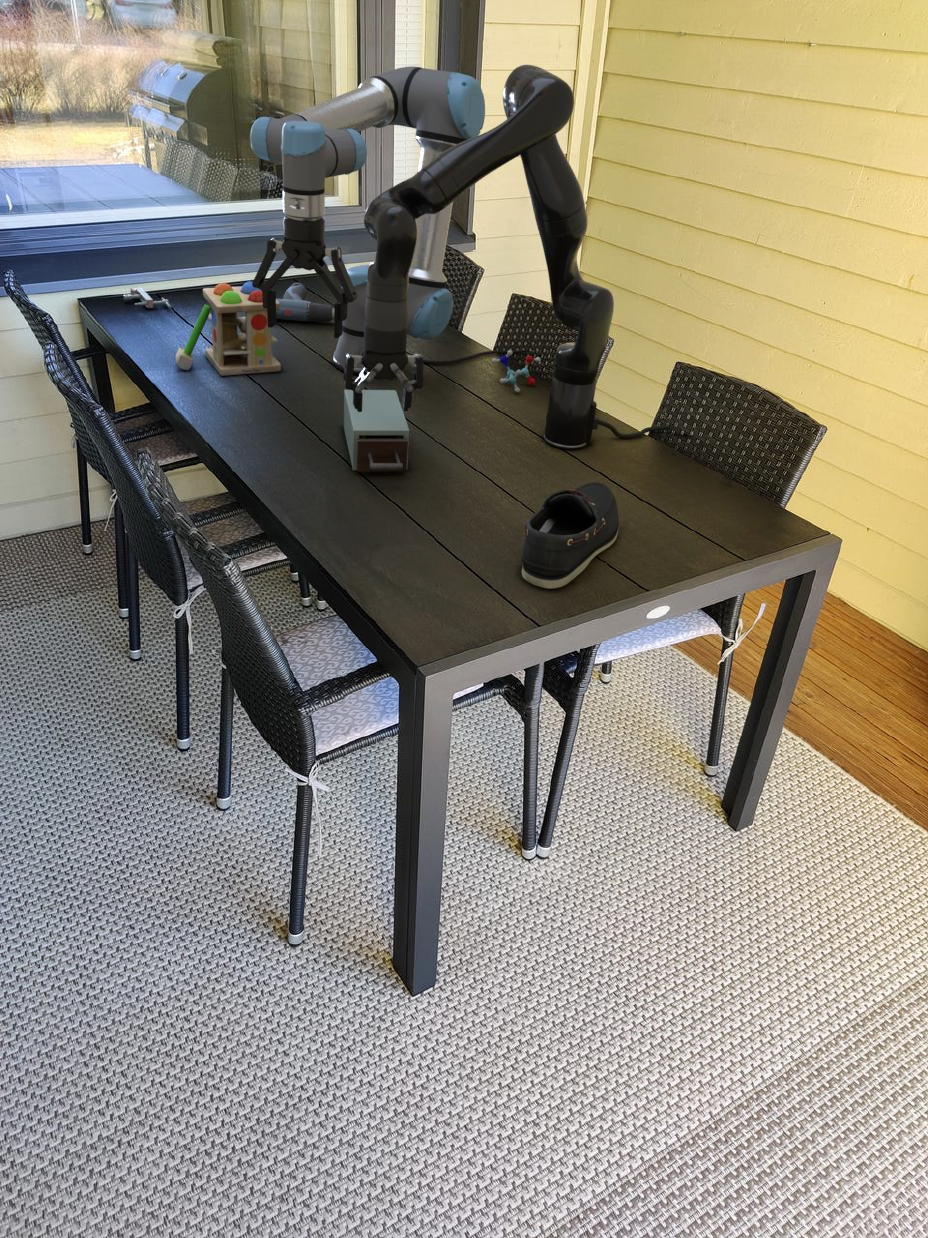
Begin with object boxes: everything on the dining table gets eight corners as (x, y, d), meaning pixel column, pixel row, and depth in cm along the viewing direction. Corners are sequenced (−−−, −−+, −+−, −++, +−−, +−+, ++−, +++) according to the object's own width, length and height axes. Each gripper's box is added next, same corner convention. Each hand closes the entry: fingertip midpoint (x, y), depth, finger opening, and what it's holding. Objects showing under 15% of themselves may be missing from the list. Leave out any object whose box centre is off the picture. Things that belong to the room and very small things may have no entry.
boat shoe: (641, 524, 182) (650, 473, 177) (559, 595, 158) (566, 538, 153) (580, 505, 188) (586, 455, 182) (491, 571, 164) (495, 515, 158)
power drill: (344, 304, 276) (335, 327, 259) (277, 298, 275) (264, 321, 258) (344, 285, 273) (335, 306, 256) (277, 279, 272) (264, 300, 255)
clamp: (119, 288, 264) (156, 285, 268) (120, 296, 265) (157, 294, 269) (133, 305, 253) (172, 302, 258) (134, 313, 254) (173, 310, 259)
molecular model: (536, 384, 226) (523, 342, 225) (499, 398, 230) (486, 357, 228) (548, 383, 237) (536, 343, 235) (513, 396, 240) (500, 357, 239)
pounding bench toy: (183, 379, 220) (176, 299, 210) (169, 357, 231) (162, 280, 221) (282, 371, 230) (280, 294, 220) (264, 350, 240) (262, 276, 230)
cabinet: (407, 470, 192) (409, 430, 188) (352, 470, 190) (353, 430, 186) (394, 427, 209) (395, 389, 204) (343, 427, 207) (344, 389, 202)
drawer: (410, 485, 185) (412, 454, 181) (360, 486, 183) (361, 455, 179) (393, 430, 205) (395, 401, 201) (348, 430, 203) (348, 401, 199)
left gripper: (231, 210, 178) (237, 326, 190) (363, 229, 175) (360, 346, 187) (248, 203, 184) (252, 315, 196) (375, 221, 181) (371, 334, 193)
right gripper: (349, 329, 166) (347, 419, 175) (430, 329, 170) (424, 417, 179) (341, 315, 172) (340, 402, 181) (420, 315, 176) (415, 401, 185)
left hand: (305, 330), depth 191 cm, fingers open, 13 cm apart
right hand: (382, 410), depth 180 cm, fingers open, 8 cm apart
